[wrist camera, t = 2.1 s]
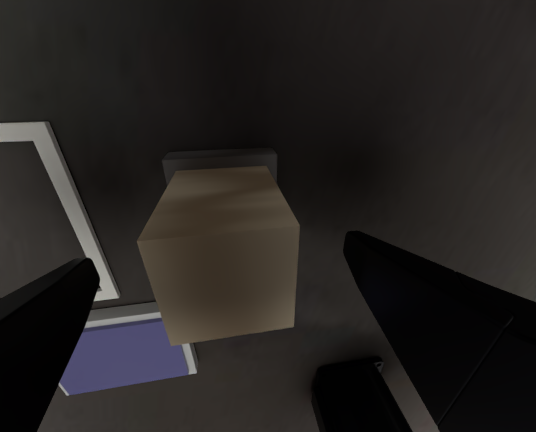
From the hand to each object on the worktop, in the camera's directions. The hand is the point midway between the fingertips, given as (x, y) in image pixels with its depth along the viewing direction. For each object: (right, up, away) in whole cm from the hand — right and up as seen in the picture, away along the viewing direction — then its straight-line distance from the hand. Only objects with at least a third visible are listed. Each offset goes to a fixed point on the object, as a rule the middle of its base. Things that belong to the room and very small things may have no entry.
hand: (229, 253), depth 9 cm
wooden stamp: (-1, +2, +4) cm, 5 cm away
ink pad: (-9, -8, +8) cm, 14 cm away
